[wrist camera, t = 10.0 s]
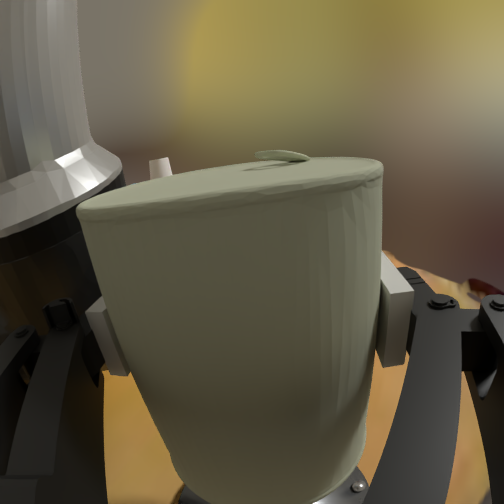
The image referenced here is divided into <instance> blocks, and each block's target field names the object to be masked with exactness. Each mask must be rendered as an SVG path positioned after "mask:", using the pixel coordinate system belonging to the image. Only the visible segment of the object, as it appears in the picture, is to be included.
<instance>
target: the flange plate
mask: <svg viewBox="0 0 504 504" xmlns="http://www.w3.org/2000/svg"><path fill="white" fill-rule="evenodd" d="M368 489H369V486H368V483H367V481H366V479H365V477H364V475H363V474H362V472H361V471H360V470H359V468H358V467H357V466H356V467H355V469H354V471H353V472H352V473H351V475H350V476H349V477H348V478H347V479H346V480H345V481H344V482H343V483H342V484H341V485H340V486H339V487H338V488H337V489H336V490H334V491H333V492H332V493H330V494H329V495H327V496H326V497H324V498H323V499H321V500H319V501H317V502H315V503H313V504H362V503H363V501H364V498H365V496H366V494H367V492H368ZM178 504H211V503H209V502H207V501H205V500H204V499H202V498H201V497H199V496H198V495H196V494H195V493H194V492H193V491H192V490H190V489H189V488H188V487H187V486H186V485H185V487H184V489H183V491H182V493H181V496H180V499H179V503H178Z"/></svg>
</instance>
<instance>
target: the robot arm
mask: <svg viewBox="0 0 504 504" xmlns="http://www.w3.org/2000/svg"><path fill="white" fill-rule="evenodd" d="M78 41H79V40H78V23H77V0H0V504H108V500H107V489H106V477H105V461H104V429H103V408H104V376H103V373H102V371H105V370H109V372H110V374H111V375H117V376H128V375H129V373H130V368H129V366H128V363H127V361H126V359H125V356H124V354H123V351H122V349H121V346H120V343H119V341H118V338H117V336H116V333H115V330H114V327H113V325H112V322H111V319H110V316H109V314H108V311H107V308H106V305H105V302H104V299H103V296H102V293H101V290H100V287H99V284H98V281H97V278H96V275H95V271H94V268H93V265H92V261H91V258H90V255H89V252H88V248H87V245H86V241H85V238H84V234H83V231H82V227H81V224H80V221H79V219H78V217H77V215H76V208H77V206H78V205H79V204H80V203H82V202H84V201H85V200H88V199H90V198H92V197H95V196H97V195H100V194H103V193H106V192H109V191H112V190H115V189H119V188H122V187H126V184H125V179H124V174H123V170H122V164H121V161H120V159H119V158H118V157H117V156H115V155H114V154H112V153H110V152H108V151H107V150H105V149H104V148H102V147H100V146H99V145H97V144H95V142H94V141H93V139H92V137H91V135H90V130H89V124H88V118H87V112H86V105H85V98H84V90H83V82H82V74H81V64H80V54H79V42H78ZM134 184H136V183H134ZM131 185H133V184H131ZM375 349H376V351H377V354H378V356H379V359H380V362H381V364H382V367H383V368H384V367H391V366H397V365H402V364H404V362H405V356H406V350H407V352H408V354H409V356H410V357H409V362H408V366H407V371H406V375H405V379H404V383H403V387H402V391H401V395H400V399H399V402H398V406H397V409H396V413H395V416H394V420H393V423H392V426H391V429H390V432H389V435H388V439H387V441H386V444H385V447H384V450H383V453H382V456H381V459H380V461H379V464H378V467H377V469H376V472H375V474H374V477H373V479H372V482H371V484H370V487H369V489H368V492H367V494H366V496H365V498H364V501H363V503H362V504H445V501H446V497H447V493H448V488H449V483H450V478H451V473H452V467H453V461H454V455H455V448H456V441H457V433H458V423H459V412H460V397H461V371H464V373H465V376H466V380H467V383H468V386H469V390H470V393H471V397H472V400H473V404H474V408H475V412H476V416H477V420H478V424H479V428H480V432H481V437H482V442H483V446H484V451H485V457H486V462H487V468H488V474H489V481H490V489H491V497H492V504H504V295H502V296H501V295H499V294H497V295H488V296H486V297H484V298H483V299H482V301H481V305H480V309H460V307H459V303H458V301H457V300H455V299H454V298H453V297H450V296H448V295H444V294H436V293H435V292H434V291H433V290H432V289H431V288H430V287H429V285H428V284H427V283H425V281H424V280H423V279H422V278H421V277H420V276H419V274H418V273H417V272H416V271H414V270H412V269H410V268H408V267H400V268H396V267H395V266H394V265H393V264H392V262H391V261H390V260H389V259H388V258H387V256H386V255H385V254H384V253H383V252H382V251H381V282H380V300H379V314H378V326H377V337H376V348H375Z"/></svg>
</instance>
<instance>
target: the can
mask: <svg viewBox="0 0 504 504" xmlns="http://www.w3.org/2000/svg"><path fill="white" fill-rule="evenodd" d="M255 156H256V157H257V158H260V159H267V160H271V161H261V162H252V163H244V164H236V165H229V166H222V167H215V168H209V169H203V170H197V171H192V172H187V173H181V174H176V175H171V176H166V177H162V178H157V179H153V180H149V181H145V182H141V183H137V184H133V185H129V186H126V187H122V188H119V189H115V190H112V191H109V192H106V193H103V194H100V195H97V196H95V197H92V198H90V199H88V200H85V201H84V202H82V203H80V204H79V205H78V206H77V208H76V215H77V217H78V219H79V221H80V224H81V227H82V231H83V234H84V238H85V241H86V245H87V248H88V252H89V255H90V258H91V261H92V265H93V268H94V271H95V275H96V278H97V281H98V284H99V287H100V290H101V293H102V296H103V299H104V302H105V305H106V308H107V311H108V314H109V316H110V319H111V322H112V325H113V327H114V330H115V333H116V336H117V338H118V341H119V343H120V346H121V349H122V351H123V354H124V356H125V359H126V361H127V363H128V366H129V368H130V371H131V373H132V375H133V378H134V380H135V382H136V384H137V387H138V389H139V391H140V393H141V395H142V398H143V400H144V402H145V404H146V406H147V408H148V410H149V413H150V415H151V417H152V419H153V421H154V423H155V425H156V427H157V429H158V431H159V433H160V435H161V437H162V439H163V441H164V443H165V445H166V447H167V449H168V451H169V453H170V456H171V460H172V463H173V466H174V468H175V470H176V472H177V474H178V475H179V477H180V478H181V480H182V481H183V482H184V483H185V485H186V486H187V487H188V488H189V489H190V490H192V491H193V492H194V493H195V494H196V495H198V496H199V497H201V498H202V499H204V500H205V501H207V502H209V503H211V504H313V503H315V502H317V501H319V500H321V499H323V498H324V497H326V496H327V495H329V494H330V493H332V492H333V491H334V490H336V489H337V488H338V487H339V486H340V485H341V484H342V483H343V482H344V481H345V480H346V479H347V478H348V477H349V476H350V475H351V473H352V472H353V471H354V469H355V467H356V466H357V464H358V462H359V460H360V458H361V456H362V453H363V450H364V447H365V442H366V417H367V410H368V403H369V396H370V389H371V381H372V374H373V366H374V357H375V348H376V337H377V326H378V314H379V300H380V282H381V251H382V176H383V170H384V169H383V165H382V163H380V162H379V161H376V160H373V159H366V158H353V157H318V158H309V157H308V156H306V155H303V154H299V153H295V152H291V151H284V150H272V151H262V152H256V153H255Z"/></svg>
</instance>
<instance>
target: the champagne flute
mask: <svg viewBox="0 0 504 504" xmlns="http://www.w3.org/2000/svg"><path fill="white" fill-rule="evenodd" d="M149 164H150V177H151V180H153V179H157V178H162V177H166V176H171V175H172V171H171V168H170V163H169V160H168V157H167V158H162V159H157V160H152V161H149Z"/></svg>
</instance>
